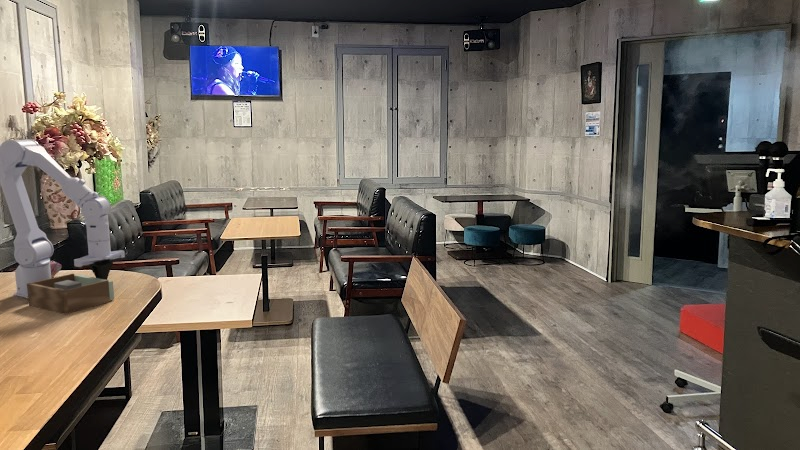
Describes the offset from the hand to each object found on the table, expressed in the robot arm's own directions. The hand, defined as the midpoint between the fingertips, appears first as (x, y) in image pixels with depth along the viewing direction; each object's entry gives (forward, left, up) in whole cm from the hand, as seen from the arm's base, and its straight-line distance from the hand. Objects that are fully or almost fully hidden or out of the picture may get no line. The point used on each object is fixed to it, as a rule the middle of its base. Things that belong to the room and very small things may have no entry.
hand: (102, 286), depth 180 cm
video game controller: (-31, +2, -3) cm, 31 cm away
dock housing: (0, -9, -2) cm, 10 cm away
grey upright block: (0, -10, -2) cm, 10 cm away
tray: (0, -8, -2) cm, 8 cm away
